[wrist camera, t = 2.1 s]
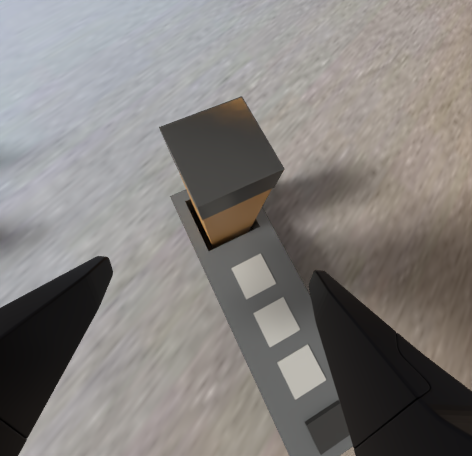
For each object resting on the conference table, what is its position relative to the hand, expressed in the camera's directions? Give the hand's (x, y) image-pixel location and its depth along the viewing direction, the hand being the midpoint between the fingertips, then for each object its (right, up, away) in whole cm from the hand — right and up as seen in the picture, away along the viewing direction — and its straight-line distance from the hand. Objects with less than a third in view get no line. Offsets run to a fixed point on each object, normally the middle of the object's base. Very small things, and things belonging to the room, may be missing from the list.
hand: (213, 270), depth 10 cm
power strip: (+3, -5, +11) cm, 12 cm away
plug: (0, +2, +13) cm, 13 cm away
